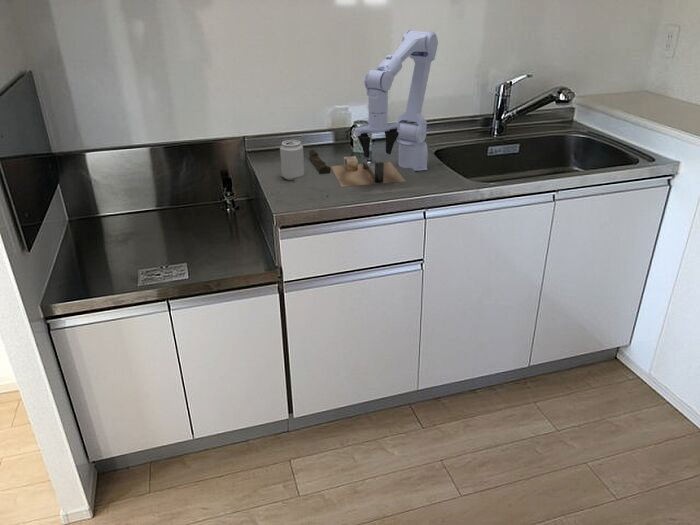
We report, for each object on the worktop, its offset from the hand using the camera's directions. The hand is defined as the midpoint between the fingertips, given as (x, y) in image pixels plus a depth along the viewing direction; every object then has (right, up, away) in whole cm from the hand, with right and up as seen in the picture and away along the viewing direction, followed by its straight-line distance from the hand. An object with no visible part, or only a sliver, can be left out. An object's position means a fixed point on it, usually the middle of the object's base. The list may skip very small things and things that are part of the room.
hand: (377, 155), depth 181 cm
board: (-3, -5, +11) cm, 13 cm away
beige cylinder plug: (-8, -2, +15) cm, 17 cm away
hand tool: (-20, -1, +20) cm, 28 cm away
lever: (-1, -4, +10) cm, 11 cm away
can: (-28, -5, +12) cm, 31 cm away
